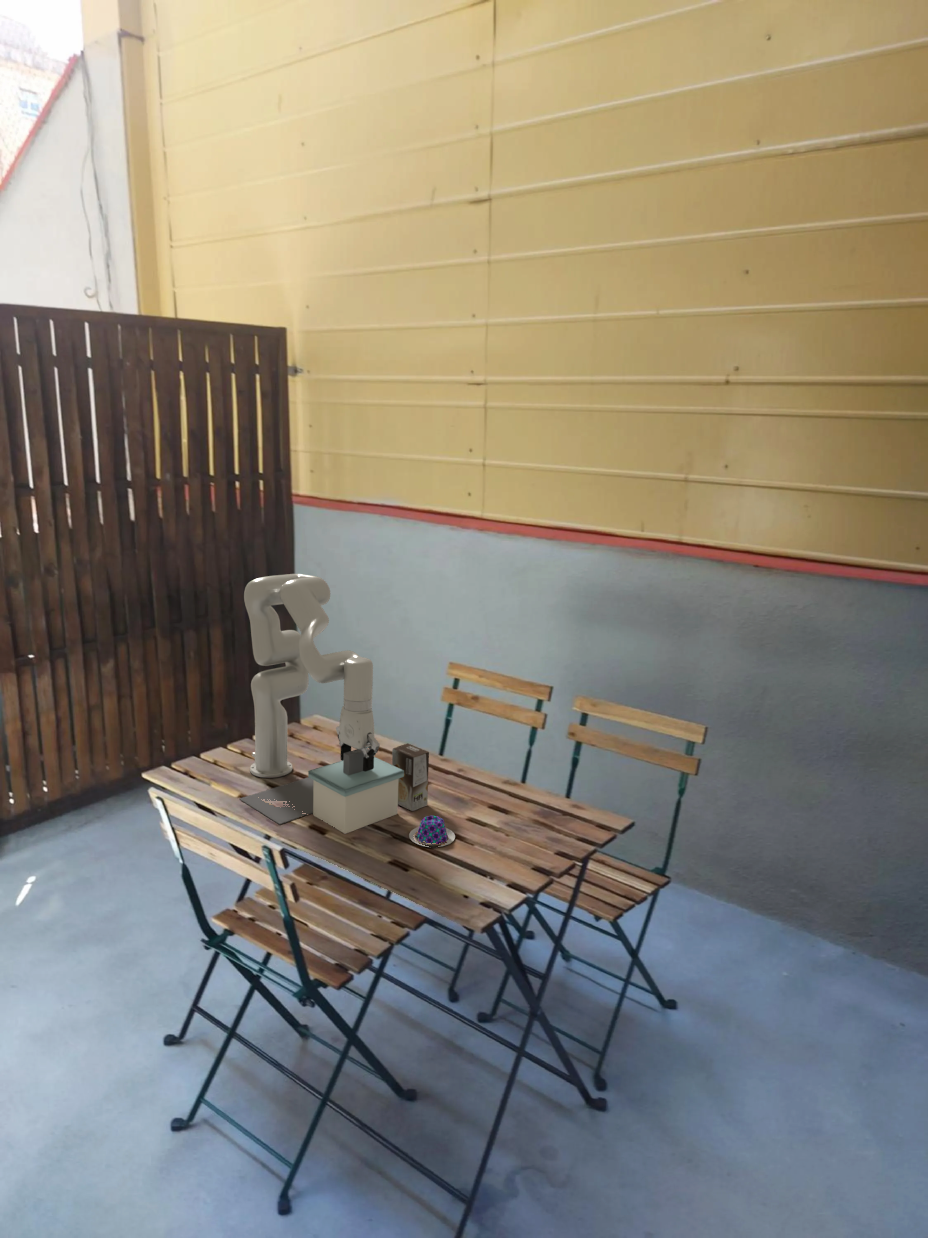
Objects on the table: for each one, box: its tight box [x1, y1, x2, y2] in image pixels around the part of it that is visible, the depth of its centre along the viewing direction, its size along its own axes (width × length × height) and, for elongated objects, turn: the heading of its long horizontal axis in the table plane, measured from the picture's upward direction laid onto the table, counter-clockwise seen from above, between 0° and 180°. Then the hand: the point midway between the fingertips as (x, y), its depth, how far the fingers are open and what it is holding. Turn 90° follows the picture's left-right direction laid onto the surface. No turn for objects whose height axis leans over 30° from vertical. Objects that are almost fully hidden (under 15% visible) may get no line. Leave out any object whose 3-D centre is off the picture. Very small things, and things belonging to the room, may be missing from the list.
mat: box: [239, 777, 314, 826], centre depth 234 cm, size 20×24×1 cm
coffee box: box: [391, 743, 430, 812], centre depth 233 cm, size 9×6×16 cm
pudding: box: [408, 815, 456, 848], centre depth 215 cm, size 12×12×5 cm
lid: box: [307, 748, 404, 797], centre depth 223 cm, size 16×20×7 cm
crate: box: [312, 779, 399, 835], centre depth 225 cm, size 14×18×12 cm
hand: (356, 764), depth 223 cm, fingers open, 9 cm apart
